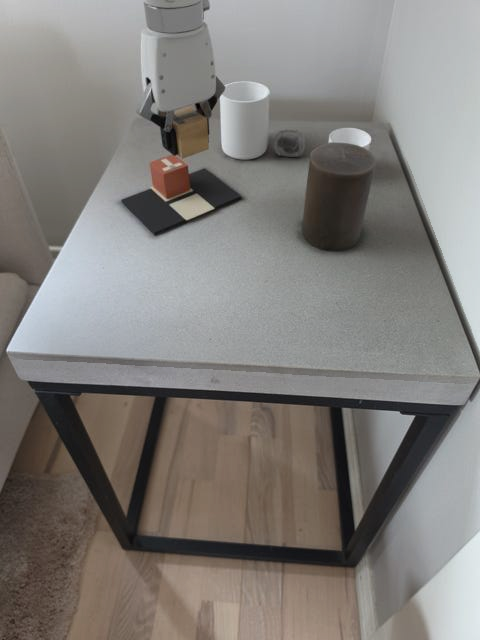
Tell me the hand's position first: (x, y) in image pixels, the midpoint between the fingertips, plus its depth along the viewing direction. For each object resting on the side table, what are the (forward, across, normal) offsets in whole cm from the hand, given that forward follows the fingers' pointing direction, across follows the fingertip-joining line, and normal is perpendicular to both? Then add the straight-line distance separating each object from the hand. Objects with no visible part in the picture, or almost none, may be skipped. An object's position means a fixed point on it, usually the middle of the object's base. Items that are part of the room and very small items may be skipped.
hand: (186, 145), depth 77 cm
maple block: (0, 0, 0) cm, 0 cm away
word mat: (+12, 0, -4) cm, 13 cm away
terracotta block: (+11, 0, -7) cm, 13 cm away
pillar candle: (+12, -15, +20) cm, 27 cm away
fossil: (+12, -26, -4) cm, 29 cm away
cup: (+12, -30, +8) cm, 33 cm away
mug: (+12, -21, -12) cm, 27 cm away
